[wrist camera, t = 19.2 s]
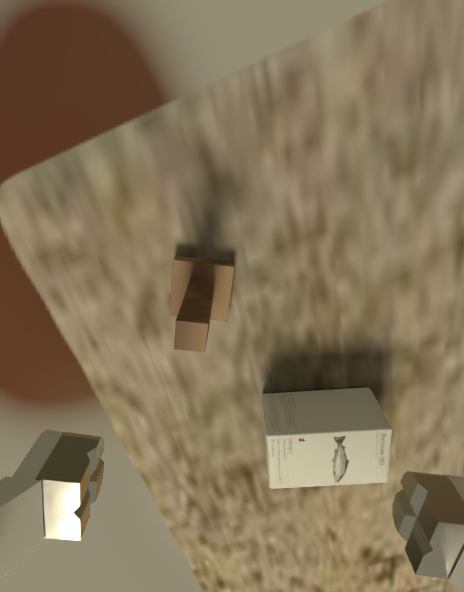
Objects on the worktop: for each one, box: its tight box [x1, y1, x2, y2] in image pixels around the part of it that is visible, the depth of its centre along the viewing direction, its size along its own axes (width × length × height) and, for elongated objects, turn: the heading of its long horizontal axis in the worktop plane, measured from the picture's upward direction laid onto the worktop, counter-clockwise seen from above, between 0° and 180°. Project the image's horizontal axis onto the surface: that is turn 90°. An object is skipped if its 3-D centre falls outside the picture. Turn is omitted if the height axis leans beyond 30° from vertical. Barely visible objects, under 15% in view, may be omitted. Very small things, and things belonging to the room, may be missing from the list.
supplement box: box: [262, 387, 392, 488], centre depth 44 cm, size 7×7×13 cm
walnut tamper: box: [170, 256, 234, 352], centre depth 37 cm, size 6×6×12 cm
